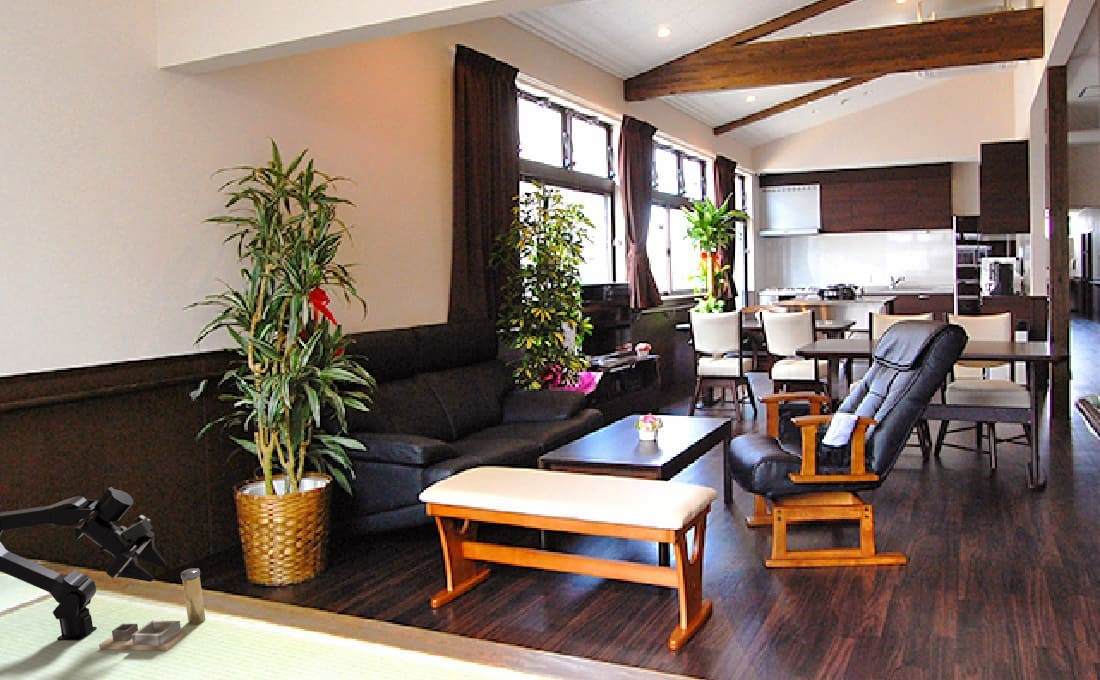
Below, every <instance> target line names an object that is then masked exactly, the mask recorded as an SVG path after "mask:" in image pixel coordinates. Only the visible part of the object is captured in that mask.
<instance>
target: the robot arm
mask: <svg viewBox="0 0 1100 680" xmlns="http://www.w3.org/2000/svg"><path fill="white" fill-rule="evenodd" d="M133 504H134V499H133V497H132V496H131V495H130V494H129V493H128V492H126V491H123V490H121V489H115V488H113V487H112V486H110V487H108V488H107V489H106V490H105V491H104V493H103V495H101V498H99V499H86V498H85V497H84V496H80V495H77V496H73V497H70V498H67V499H64V500H61V501H58V502H55V503H54V504H50V505H45V506H38V507H31V508H24V509H23V508H22V509H17V510H11V511H10V510H8V511H0V536H1V535H2V533H3V531H5V530H6V531H7V530H11V529H12V530H13V529H21V528H26V527H33V526H41V525H52V526H56V527H74V526H76V527H74V528H73V531H74V540H79V539H80V538H81V537H83V535H84V536H86V537H87V538H88V539H90V540H91V541H92V542H93V543H95V544H96V545H98V546H100V548H99V549H98V551H100V552H102V553H103V552H105V551H106V552H108V553H109V554H111V555H112V556H113V557H114V558H113V559H112V561H110V563H109V564H108V566H106V568H105V573H106V574H105V575H108V577H110V578H111V579H114V578H115V577H116V578H117V579H118V578H121V579H123V578H124V579H133V580H140V581H143V582H150V583H151V582H153V580H154V579H155V578H154V576H152V575H151V573H150V572H148V571H147V570H146V569H145V568H144V567H143V566H142V565H141V564H140V563H139V562H138V561H139V560H141V561H144V562H147V563H149V564H152V565H154V566H157V567H160V568H163V569H164V568H165V567H166V566H167V562H166V561H165V559H164V558H163V557H162V556H161V554H160V552H159V551H158V549H157V548H156V545H155V540H156V537H155V536H154V535H156V534H155V533H154V532H153V531H152V529H154V528H153V525H152V524H151V521H152V519H150V518H148V516H145V515H143V514H140V515H138V516H136V517H135V518H134V519H133V520H134V522H133V524H131V525H130V526H129V527H126V526H125V525H119V527H118V526H117V525H115V524H114V523H115V522H116V523H117V522H119V521H120V520H121V519H122V517H124V515H125V514H126V512H127V511H128V510H129V509H130V508H131V507H132V505H133ZM93 513H95V514H94V515H93V516H91V515H92V514H93ZM84 519H85V520H84ZM82 520H84V521H83V522H82V524H80V525H77V524H78V523H80V522H81V521H82ZM113 522H114V523H113ZM138 559H139V560H138ZM0 572H1V573H4V574H5V575H8V576H11V577H13V578H15V579H17V580H18V581H22V582H24V583H26V584H29V585H32V586H33V587H36V588H38V589H41V590H43V591H46V592H48V593H49V594H50V595H51V596H52V598H53V599H54V600H55V602H56V603H58V605H57V606H56V607H55V608H54V610H53V611H52V614H53V616H54V618H55V619H56V620H58V622H59V627H60V632H61V635H60V636H58V637H57V641H81V640H82V639H84V638H85V637H88V636H89V635H90V634H92V633H93V632H94V631H96V630H97V626H94V625H93V619H92V614H91V613H90V608H88V607H87V606H88V605H90V604H91V601H92V598H94V596H95V595H96V593H97V586H96V584H95V583H96V582H95V581H94V580H93V579H91V578H90V575H85V574H83V573H82V572H80V571H78V570H75V569H73V570H72V571H71V572H69V574H62V573H59V572H57V571H55V570H52V569H50V568H48V567H45V566H44V565H41V564H38V563H36V562H34V561H31V560H29V559H27V558H25V557H22V556H20V555H18V554H15V553H13V552H11V551H8V550H7V549H6V548H5V546H4V545H3V543H2V542H1V541H0Z"/></svg>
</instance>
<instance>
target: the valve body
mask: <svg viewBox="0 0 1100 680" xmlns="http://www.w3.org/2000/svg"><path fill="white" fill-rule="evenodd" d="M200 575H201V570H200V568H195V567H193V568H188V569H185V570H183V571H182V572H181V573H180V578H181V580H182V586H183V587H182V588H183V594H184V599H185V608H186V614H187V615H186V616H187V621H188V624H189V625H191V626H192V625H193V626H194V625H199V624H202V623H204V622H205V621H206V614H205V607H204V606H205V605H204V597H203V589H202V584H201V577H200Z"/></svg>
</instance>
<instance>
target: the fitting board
mask: <svg viewBox="0 0 1100 680" xmlns="http://www.w3.org/2000/svg"><path fill="white" fill-rule="evenodd" d="M181 626H182V625H181V621H180V620H151V621H149V622H148V623H147V624H145V625H143V626H142V627H140V629H139V626H138V623H121V624H120V625H118V626H117V627H115V628H114V629H113V630H112V631H111V634H112V635H110V636H109V637H107V638H106V639H104V640H103V641H102V642H101V643H98V647H99V650H122V651H123V650H125V651H126V650H128V651H129V650H130V651H131V650H132V651H168V650H170V649H171V648H173V646H175V645H177V644H178V643H179V642H180V641H181V640H183V639H184V638H185V637H186V636H187V631H186V630H182V627H181Z"/></svg>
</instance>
